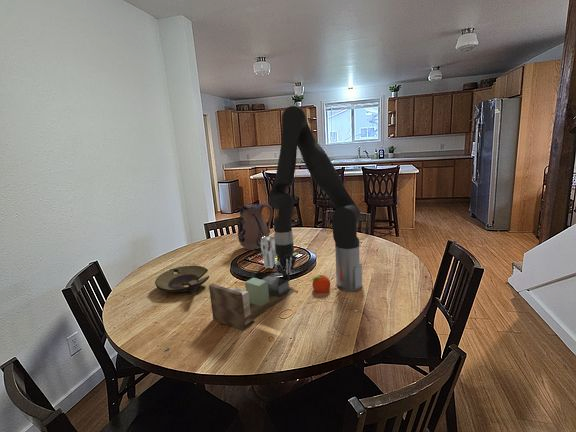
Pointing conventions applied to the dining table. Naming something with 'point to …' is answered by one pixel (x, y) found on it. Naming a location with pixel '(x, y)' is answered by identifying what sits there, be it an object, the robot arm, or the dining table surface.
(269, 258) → the beer glass
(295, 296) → the dining table surface
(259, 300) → the pale green chunky prism
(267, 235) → the ceramic pitcher
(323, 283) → the tomato
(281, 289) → the dark gray rectangular block
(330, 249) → the dining table surface
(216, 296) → the book shelf
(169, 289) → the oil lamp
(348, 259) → the robot arm
